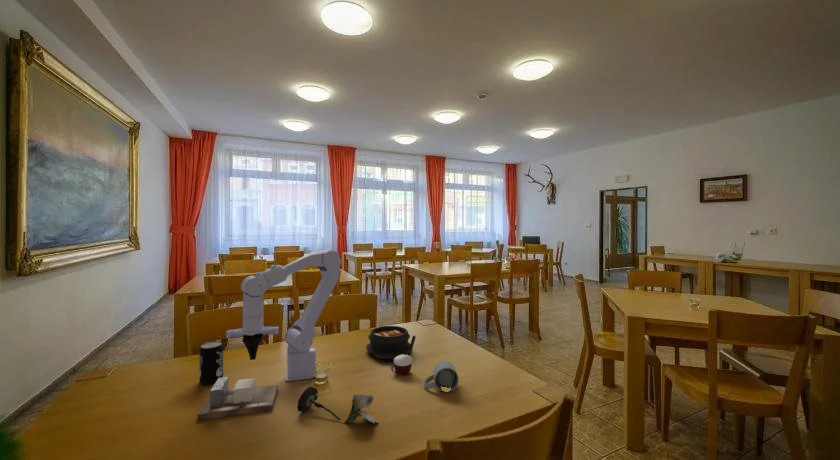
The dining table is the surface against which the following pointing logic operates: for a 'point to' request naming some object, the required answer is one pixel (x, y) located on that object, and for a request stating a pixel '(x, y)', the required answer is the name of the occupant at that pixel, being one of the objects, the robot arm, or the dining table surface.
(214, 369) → the beverage can
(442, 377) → the ceramic mug
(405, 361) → the cocoa
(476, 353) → the dining table surface
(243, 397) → the gauge carriage
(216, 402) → the grey block
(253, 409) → the base
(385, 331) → the casserole
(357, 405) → the artificial flower
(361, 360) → the dining table surface
